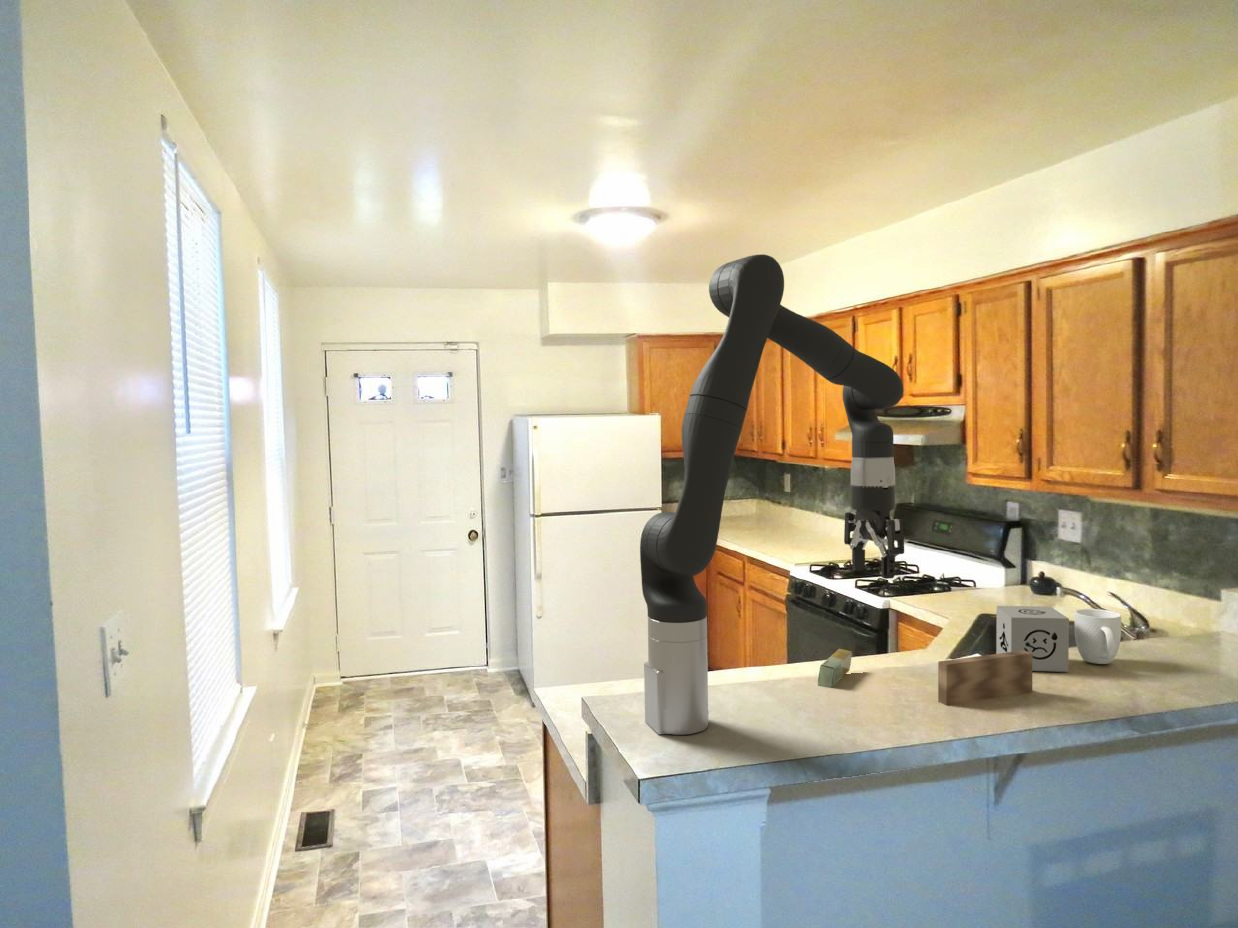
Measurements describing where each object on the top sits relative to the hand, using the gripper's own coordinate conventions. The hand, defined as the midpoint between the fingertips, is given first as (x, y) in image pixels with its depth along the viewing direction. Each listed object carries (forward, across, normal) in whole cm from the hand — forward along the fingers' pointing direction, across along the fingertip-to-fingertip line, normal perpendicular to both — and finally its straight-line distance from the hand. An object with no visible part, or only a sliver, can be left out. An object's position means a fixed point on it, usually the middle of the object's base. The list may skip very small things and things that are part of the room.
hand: (873, 573), depth 150 cm
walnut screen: (+20, +12, +14) cm, 27 cm away
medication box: (+20, -6, -4) cm, 22 cm away
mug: (+20, +4, +48) cm, 52 cm away
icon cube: (+20, -1, +36) cm, 41 cm away
